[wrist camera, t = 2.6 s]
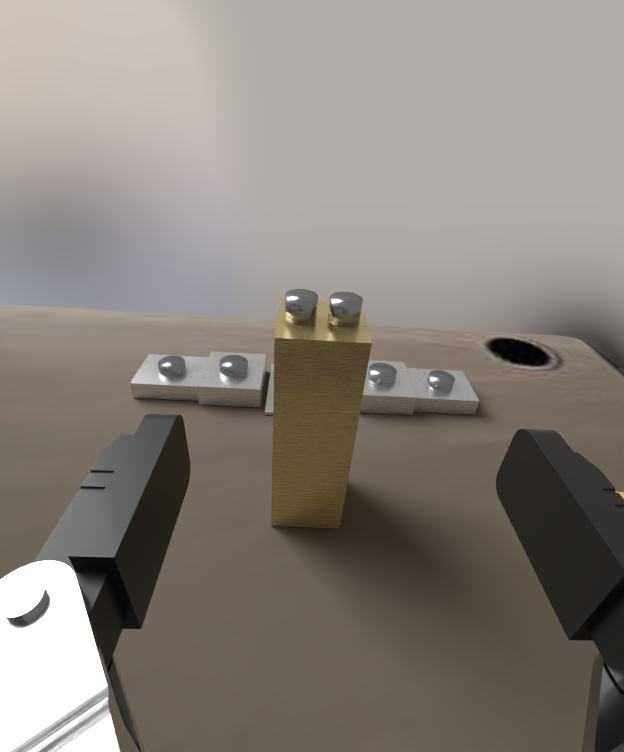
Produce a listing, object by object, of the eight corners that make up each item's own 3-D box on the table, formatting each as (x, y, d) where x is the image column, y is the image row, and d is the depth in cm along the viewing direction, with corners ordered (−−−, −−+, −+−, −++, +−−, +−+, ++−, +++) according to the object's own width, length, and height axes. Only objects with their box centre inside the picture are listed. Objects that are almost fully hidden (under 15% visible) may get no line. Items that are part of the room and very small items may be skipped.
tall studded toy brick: (271, 525, 26) (275, 313, 18) (276, 473, 30) (281, 277, 21) (339, 528, 26) (375, 319, 18) (336, 476, 30) (364, 282, 22)
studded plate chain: (127, 407, 35) (120, 381, 33) (156, 359, 41) (152, 336, 40) (480, 425, 36) (489, 400, 35) (453, 375, 43) (460, 353, 41)
